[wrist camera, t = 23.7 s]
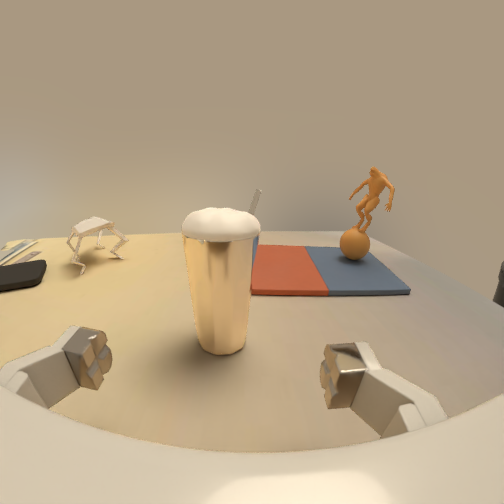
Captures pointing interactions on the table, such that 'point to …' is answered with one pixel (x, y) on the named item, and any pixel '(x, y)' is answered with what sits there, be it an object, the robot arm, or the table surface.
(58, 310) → the table surface
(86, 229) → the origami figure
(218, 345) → the milkshake
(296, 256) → the sorting board
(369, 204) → the figurine
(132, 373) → the table surface
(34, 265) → the phone
